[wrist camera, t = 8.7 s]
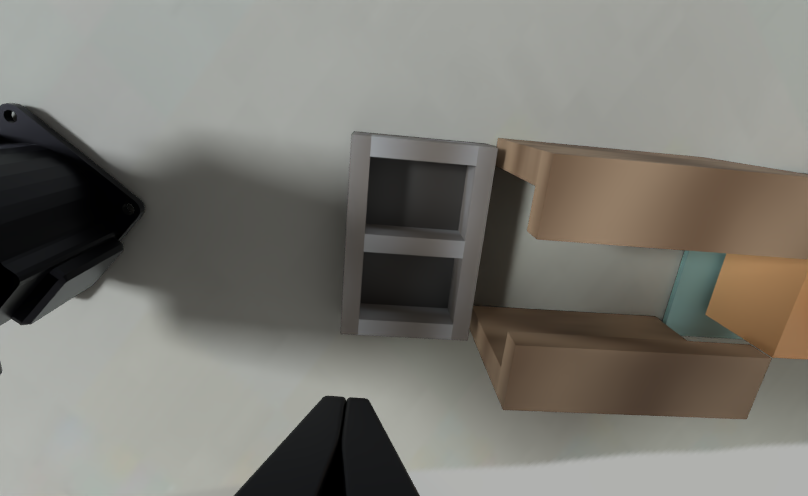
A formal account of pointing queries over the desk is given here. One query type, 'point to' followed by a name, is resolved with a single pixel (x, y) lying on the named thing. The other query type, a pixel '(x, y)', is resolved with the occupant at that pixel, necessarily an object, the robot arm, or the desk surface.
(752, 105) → the desk surface
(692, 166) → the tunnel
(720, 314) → the slider
